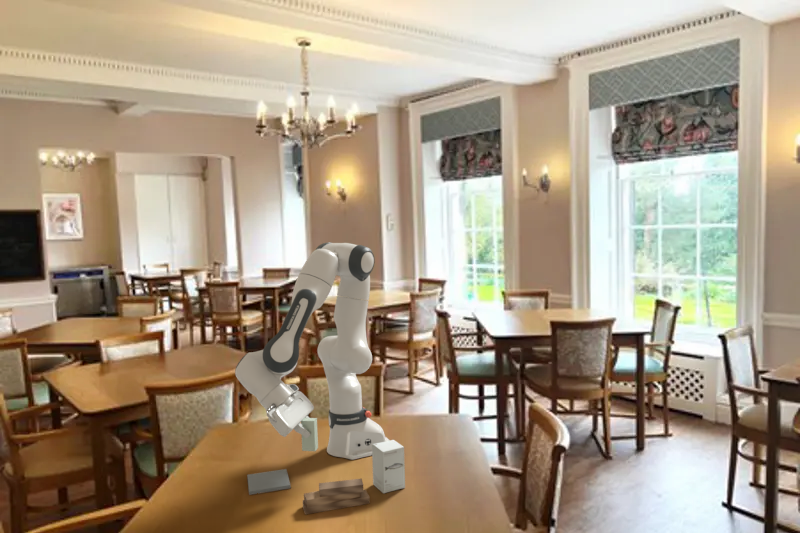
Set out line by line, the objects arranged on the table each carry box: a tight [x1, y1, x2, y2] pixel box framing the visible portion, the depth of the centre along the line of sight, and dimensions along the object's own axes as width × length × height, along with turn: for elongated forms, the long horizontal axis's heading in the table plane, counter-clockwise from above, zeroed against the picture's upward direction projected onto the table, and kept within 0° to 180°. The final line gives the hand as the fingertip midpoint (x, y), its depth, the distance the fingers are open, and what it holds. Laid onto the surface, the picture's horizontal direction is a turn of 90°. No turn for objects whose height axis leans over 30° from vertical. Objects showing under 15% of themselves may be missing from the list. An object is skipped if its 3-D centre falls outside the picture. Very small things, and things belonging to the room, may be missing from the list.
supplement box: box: [371, 439, 406, 494], centre depth 173 cm, size 7×7×13 cm
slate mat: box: [246, 468, 291, 496], centre depth 178 cm, size 12×12×1 cm
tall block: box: [300, 417, 319, 452], centre depth 170 cm, size 2×4×9 cm, turn 79°
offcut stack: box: [302, 478, 371, 515], centre depth 162 cm, size 18×6×6 cm, turn 107°
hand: (311, 433), depth 170 cm, fingers closed on tall block, 2 cm apart
